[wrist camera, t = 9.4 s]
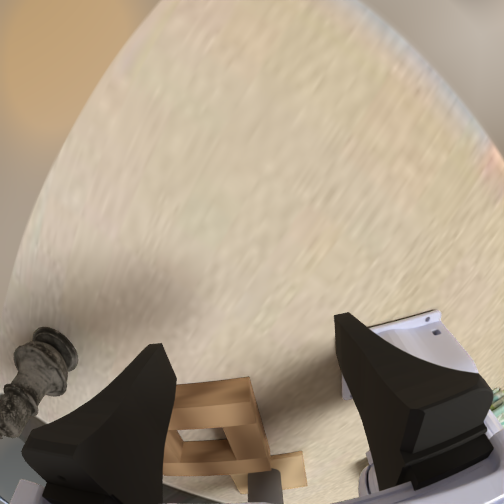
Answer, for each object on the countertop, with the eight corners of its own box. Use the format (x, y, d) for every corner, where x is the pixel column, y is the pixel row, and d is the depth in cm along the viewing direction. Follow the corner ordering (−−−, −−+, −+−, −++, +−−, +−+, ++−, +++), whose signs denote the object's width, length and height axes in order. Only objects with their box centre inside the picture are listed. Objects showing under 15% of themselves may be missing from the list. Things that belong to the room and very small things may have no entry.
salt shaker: (88, 349, 25) (32, 449, 14) (72, 382, 27) (26, 471, 16) (37, 312, 24) (-35, 398, 13) (26, 349, 26) (-31, 429, 14)
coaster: (302, 451, 31) (302, 454, 30) (306, 482, 34) (307, 485, 34) (224, 460, 31) (224, 464, 31) (240, 490, 35) (240, 494, 34)
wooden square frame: (249, 376, 26) (249, 401, 24) (269, 449, 31) (271, 470, 28) (125, 387, 27) (116, 409, 24) (168, 455, 31) (164, 475, 28)
